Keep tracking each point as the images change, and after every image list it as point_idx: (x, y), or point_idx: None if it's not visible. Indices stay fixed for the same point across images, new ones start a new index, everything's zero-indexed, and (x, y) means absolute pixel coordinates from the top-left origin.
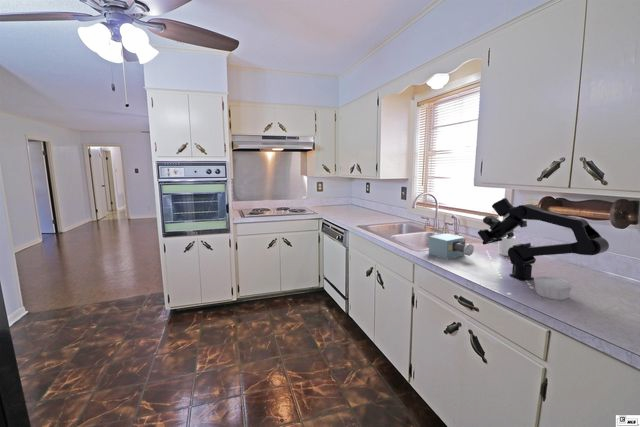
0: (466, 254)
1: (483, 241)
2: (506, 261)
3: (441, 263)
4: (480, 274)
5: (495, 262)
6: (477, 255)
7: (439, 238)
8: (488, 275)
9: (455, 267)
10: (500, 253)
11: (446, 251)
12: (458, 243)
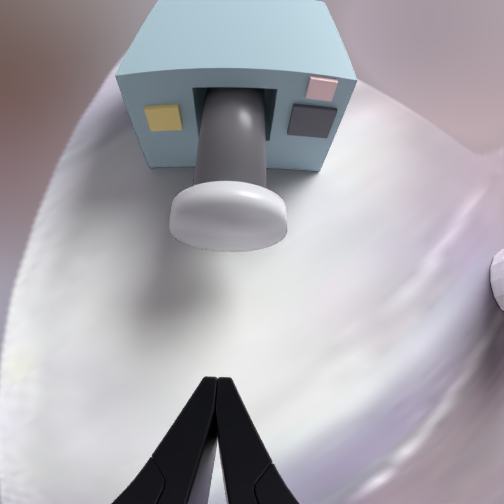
0: (189, 244)
1: (186, 407)
2: (433, 380)
3: (66, 206)
4: (74, 447)
5: (366, 368)
6: (387, 214)
7: (147, 30)
8: (98, 481)
9: (58, 294)
10: (494, 272)
11: (136, 134)
12: (228, 111)
